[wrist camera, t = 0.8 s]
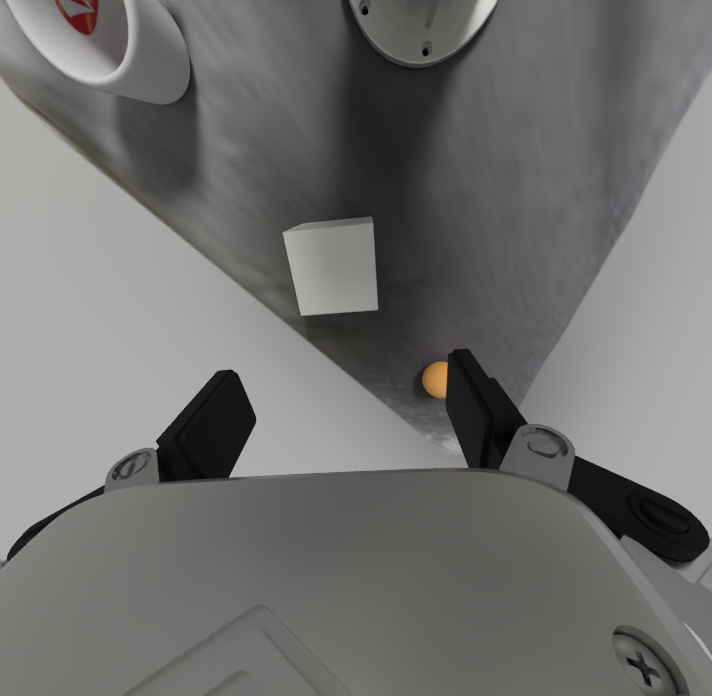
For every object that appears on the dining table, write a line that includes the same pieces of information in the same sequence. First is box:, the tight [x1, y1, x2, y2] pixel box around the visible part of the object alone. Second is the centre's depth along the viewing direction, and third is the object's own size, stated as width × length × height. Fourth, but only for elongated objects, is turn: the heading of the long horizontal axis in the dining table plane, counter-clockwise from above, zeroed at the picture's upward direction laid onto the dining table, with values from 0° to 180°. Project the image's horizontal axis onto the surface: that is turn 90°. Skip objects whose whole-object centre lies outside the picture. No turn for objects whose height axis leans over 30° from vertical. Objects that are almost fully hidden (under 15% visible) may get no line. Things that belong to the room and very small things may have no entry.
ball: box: [422, 362, 448, 398], centre depth 36 cm, size 5×5×5 cm
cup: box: [6, 0, 190, 104], centre depth 18 cm, size 11×8×8 cm
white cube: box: [283, 216, 378, 316], centre depth 27 cm, size 8×8×8 cm
